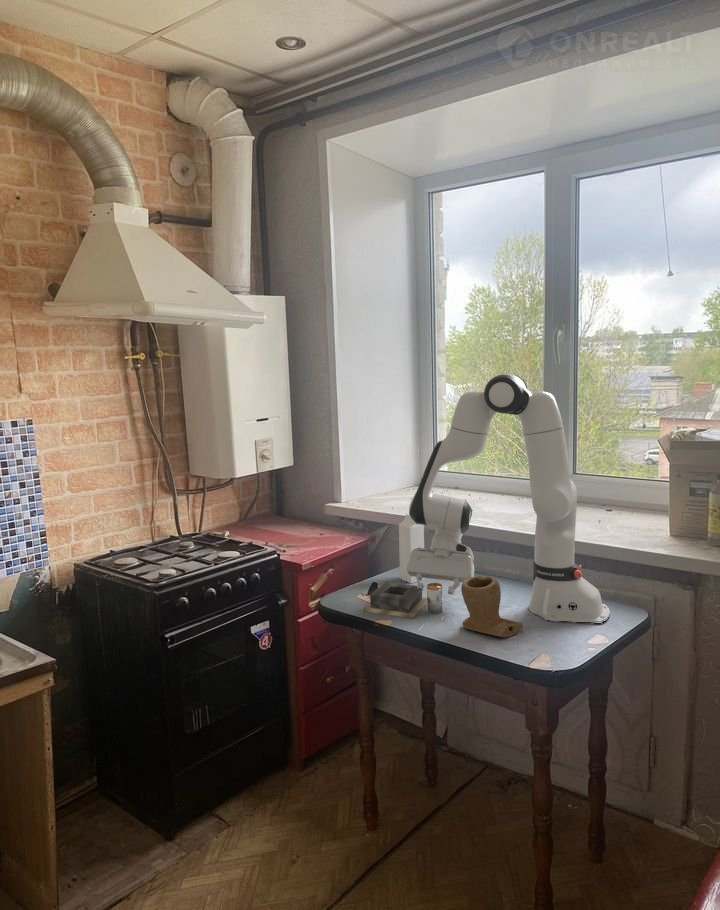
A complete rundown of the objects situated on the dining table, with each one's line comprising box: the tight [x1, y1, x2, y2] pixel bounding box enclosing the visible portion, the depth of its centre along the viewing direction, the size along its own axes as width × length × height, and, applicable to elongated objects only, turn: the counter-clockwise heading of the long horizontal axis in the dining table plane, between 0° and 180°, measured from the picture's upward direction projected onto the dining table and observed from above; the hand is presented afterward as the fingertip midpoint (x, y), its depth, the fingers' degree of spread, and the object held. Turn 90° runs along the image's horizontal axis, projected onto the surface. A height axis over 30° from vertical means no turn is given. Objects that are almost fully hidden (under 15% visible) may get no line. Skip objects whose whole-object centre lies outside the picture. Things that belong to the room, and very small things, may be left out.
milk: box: [398, 513, 426, 584], centre depth 227 cm, size 6×6×22 cm
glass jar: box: [426, 582, 444, 615], centre depth 199 cm, size 4×4×8 cm
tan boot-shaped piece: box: [461, 575, 524, 638], centre depth 183 cm, size 15×12×15 cm
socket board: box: [362, 581, 427, 619], centre depth 204 cm, size 16×14×5 cm
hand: (435, 591), depth 200 cm, fingers open, 8 cm apart
